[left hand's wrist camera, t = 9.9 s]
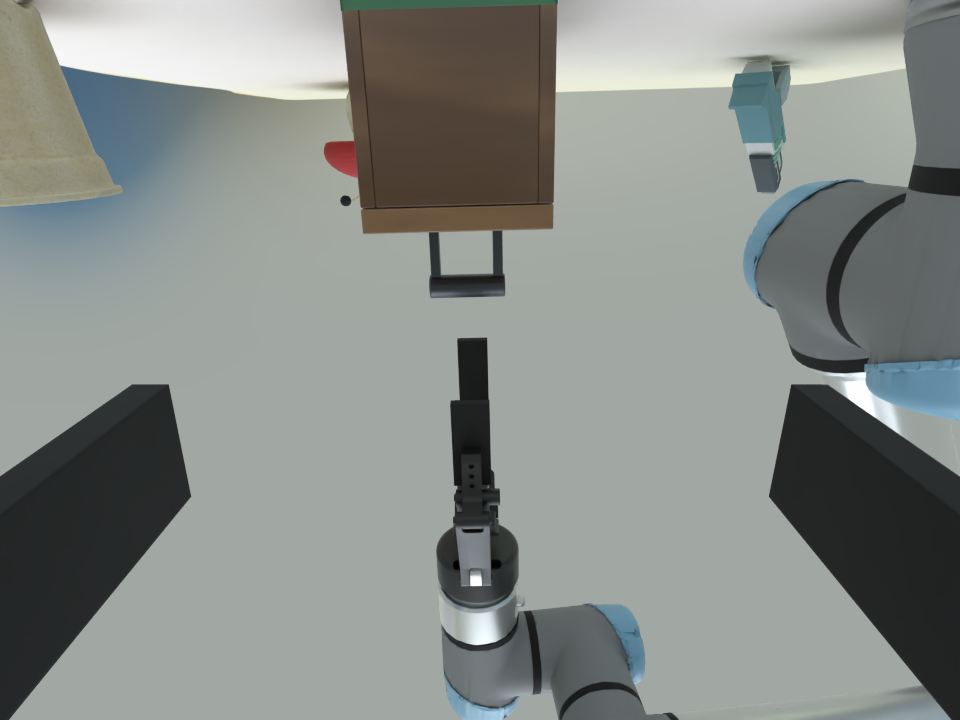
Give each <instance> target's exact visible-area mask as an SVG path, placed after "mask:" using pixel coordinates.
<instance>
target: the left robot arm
mask: <svg viewBox="0 0 960 720" xmlns="http://www.w3.org/2000/svg"><path fill="white" fill-rule="evenodd" d="M190 497H191V494H190V489H189V484H188V479H187V474H186V469H185V464H184V459H183V454H182V449H181V444H180V439H179V434H178V429H177V424H176V419H175V414H174V409H173V404H172V399H171V394H170V389H169V385H131V386H129V387H128V388H127V389H125V390H124V391H122V392H121V393H119V394H118V395H117V396H115V397H114V398H112V399H111V400H109V401H108V402H106V403H105V404H104V405H102V406H101V407H99V408H98V409H96V410H95V411H94V412H92V413H91V414H89V415H88V416H86V417H85V418H83V419H82V420H81V421H79V422H78V423H76V424H75V425H73V426H72V427H71V428H69V429H68V430H66V431H65V432H63V433H62V434H60V435H59V436H58V437H56V438H55V439H53V440H52V441H50V442H49V443H48V444H46V445H45V446H43V447H42V448H40V449H39V450H37V451H36V452H35V453H33V454H32V455H30V456H29V457H27V458H26V459H25V460H23V461H22V462H20V463H19V464H17V465H16V466H15V467H13V468H12V469H10V470H9V471H7V472H6V473H4V474H3V475H2V476H0V720H9V719H10V718H11V717H12V715H13V714H14V713H15V712H16V710H17V709H18V708H19V707H20V705H21V704H22V703H23V702H24V701H25V699H26V698H27V697H28V696H29V694H30V693H31V692H32V691H33V690H34V688H35V687H36V686H37V685H38V683H39V682H40V681H41V680H42V678H43V677H44V676H45V675H46V674H47V672H48V671H49V670H50V669H51V668H52V666H53V665H54V664H55V663H56V661H57V660H58V659H59V658H60V657H61V655H62V654H63V653H64V652H65V650H66V649H67V648H68V647H69V645H70V644H71V643H72V642H73V640H74V639H75V638H76V637H77V636H78V634H79V633H80V632H81V631H82V630H83V628H84V627H85V626H86V625H87V623H88V622H89V621H90V620H91V619H92V617H93V616H94V615H95V614H96V612H97V611H98V610H99V609H100V608H101V606H102V605H103V604H104V603H105V601H106V600H107V599H108V598H109V596H110V595H111V594H112V593H113V592H114V590H115V589H116V588H117V587H118V585H119V584H120V583H121V582H122V581H123V579H124V578H125V577H126V576H127V574H128V573H129V572H130V571H131V570H132V568H133V567H134V566H135V565H136V563H137V562H138V561H139V560H140V559H141V557H142V556H143V555H144V554H145V552H146V551H147V550H148V549H149V547H150V546H151V545H152V544H153V543H154V541H155V540H156V539H157V538H158V536H159V535H160V534H161V533H162V532H163V530H164V529H165V528H166V527H167V525H168V524H169V523H170V522H171V520H172V519H173V518H174V517H175V516H176V514H177V513H178V512H179V511H180V509H181V508H182V507H183V506H184V505H185V503H186V502H187V501H188V500H189V498H190ZM769 497H770V498H771V500H772V501H773V502H774V503H775V505H776V506H777V507H778V508H779V509H780V511H781V512H782V513H783V514H784V516H785V517H786V518H787V519H788V521H789V522H790V523H791V524H792V525H793V527H794V528H795V529H796V530H797V532H798V533H799V534H800V535H801V536H802V538H803V539H804V540H805V541H806V543H807V544H808V545H809V546H810V547H811V549H812V550H813V551H814V552H815V554H816V555H817V556H818V557H819V559H820V560H821V561H822V562H823V563H824V565H825V566H826V567H827V568H828V569H829V571H830V572H831V573H832V574H833V576H834V577H835V578H836V579H837V581H838V582H839V583H840V584H841V585H842V587H843V588H844V589H845V590H846V592H847V593H848V594H849V595H850V596H851V598H852V599H853V600H854V601H855V603H856V604H857V605H858V606H859V607H860V609H861V610H862V611H863V612H864V614H865V615H866V616H867V617H868V619H869V620H870V621H871V622H872V623H873V625H874V626H875V627H876V628H877V629H878V631H879V632H880V633H881V634H882V636H883V637H884V638H885V639H886V641H887V642H888V643H889V644H890V645H891V647H892V648H893V649H894V650H895V652H896V653H897V654H898V655H899V656H900V658H901V659H902V660H903V661H904V663H905V664H906V665H907V666H908V668H909V669H910V670H911V671H912V672H913V674H914V675H915V676H916V677H917V679H918V680H919V681H920V682H921V683H922V685H923V686H924V687H925V688H926V690H927V691H928V692H929V693H930V694H931V696H932V697H933V698H934V699H935V701H936V702H937V703H938V704H939V706H940V707H941V708H942V709H943V710H944V712H945V713H946V714H947V715H948V717H949V718H950V719H951V720H960V476H958V475H957V474H956V473H954V472H953V471H951V470H950V469H948V468H947V467H946V466H944V465H943V464H941V463H940V462H938V461H937V460H935V459H934V458H933V457H931V456H930V455H928V454H927V453H925V452H924V451H923V450H921V449H920V448H918V447H917V446H915V445H914V444H912V443H911V442H910V441H908V440H907V439H905V438H904V437H902V436H901V435H900V434H898V433H897V432H895V431H894V430H892V429H891V428H889V427H888V426H887V425H885V424H884V423H882V422H881V421H879V420H878V419H877V418H875V417H874V416H872V415H871V414H869V413H868V412H866V411H865V410H864V409H862V408H861V407H859V406H858V405H856V404H855V403H854V402H852V401H851V400H849V399H848V398H846V397H845V396H843V395H842V394H841V393H839V392H838V391H836V390H835V389H833V388H832V387H831V386H829V385H791V389H790V394H789V399H788V404H787V409H786V414H785V419H784V424H783V429H782V434H781V439H780V444H779V449H778V454H777V459H776V464H775V469H774V474H773V479H772V484H771V489H770V494H769Z"/></svg>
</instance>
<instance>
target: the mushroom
mask: <svg viewBox="0 0 960 720" xmlns="http://www.w3.org/2000/svg"><path fill="white" fill-rule="evenodd" d="M346 111H347V117H348V120H349V123H350V126H351V129H352V132H353V122H352V112H351V101H350V91H349V92H348V94H347V100H346ZM353 134H354V133H353ZM324 155H325V158H326V160H327V161H328V163H329V164H330V165H331V166H332V167H334V168H335V169H337V170H338V171H340V172H342V173H344V174H347V175H350V176H353V177H357V178H358V174H357V164H356V153H355V143H354V141H338V142H329V143H326V145H325V147H324ZM359 198H360V195H359V196H358V197H357V198H355V199H353V200H352V201H354V200H357V199H359ZM340 201H341V204H342V205H344V206H349V205H350V204H351V199H350V197H349V196H342V198H341V200H340Z"/></svg>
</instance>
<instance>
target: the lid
mask: <svg viewBox="0 0 960 720" xmlns="http://www.w3.org/2000/svg"><path fill="white" fill-rule="evenodd" d="M361 216H362V226H363V233H364V234H385V233H424V232H429V242H430V260H431V276H430V279H429V288H430V297H431V298H454V297H494V296H505V275H504V274H503V256H502V230H537V229H553V204H552V203H536V204H499V205H462V206H424V207H387V208H377V207H375V208H363V209H362V210H361ZM461 231H493V274H459V275H441V262H440V243H439V232H461Z"/></svg>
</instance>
